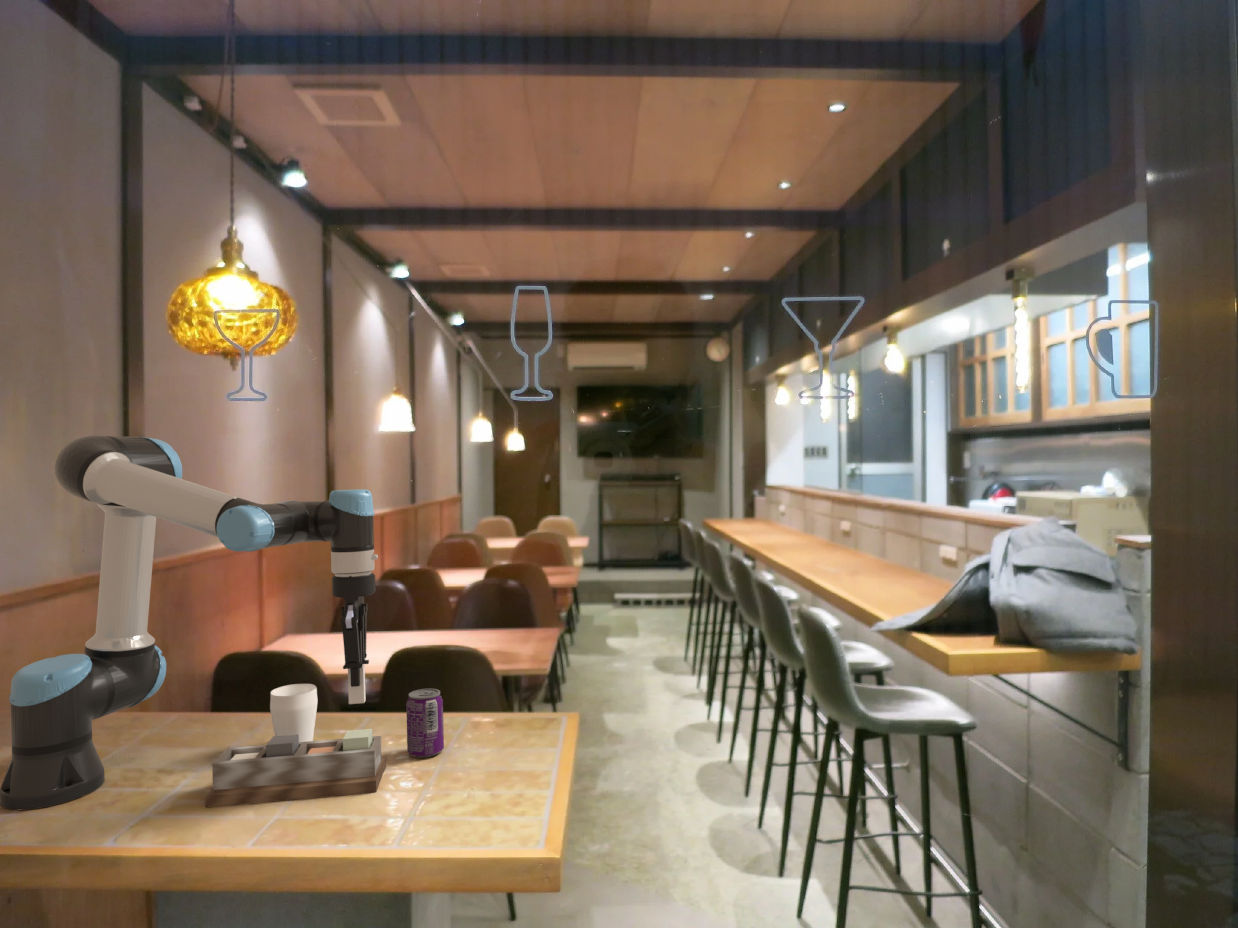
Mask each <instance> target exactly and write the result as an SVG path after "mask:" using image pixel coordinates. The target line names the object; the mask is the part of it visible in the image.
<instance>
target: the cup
mask: <svg viewBox="0 0 1238 928" xmlns="http://www.w3.org/2000/svg"><path fill="white" fill-rule="evenodd" d="M269 701H270V702H269V710H270V716H271V717H270V718H271V721H272V722H271V723H272V726H273V733H274V736H285V735H298V734H299V742H308V741H314V733H315V727H316V726H315V725H316V720H317V709H318V702H319V700H318V688H317V686H316V685H315V684H314V683H313V684H312V683H295V684H287V685H283V686H279V687H277V688H274V689H272V690H271V691H270V700H269Z"/></svg>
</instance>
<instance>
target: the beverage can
mask: <svg viewBox="0 0 1238 928" xmlns="http://www.w3.org/2000/svg"><path fill="white" fill-rule="evenodd" d="M405 709H406V746H407V748H406V749H407V750H406V752H407V753H408V754H409V755H410V756H413V757H415V758H420V759H422V758H430V757H433V756H436V755H438V754H439V753H440V752H442V751H443V750H444V747H445V738H444V737H445V736H444V700H443V697H442V695H441V690H439V689H437V688H421V689H416V690H413V691H411V692H409V693H408V699H407V701H406V708H405Z"/></svg>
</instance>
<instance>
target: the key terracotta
mask: <svg viewBox="0 0 1238 928" xmlns="http://www.w3.org/2000/svg"><path fill="white" fill-rule="evenodd" d="M334 748H335V746H334V747H321V748H311V749H310V751H309V752H308V754H314V753H327V752H332V751H333V749H334Z"/></svg>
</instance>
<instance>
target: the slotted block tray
mask: <svg viewBox="0 0 1238 928" xmlns="http://www.w3.org/2000/svg"><path fill="white" fill-rule="evenodd" d="M334 746H335V748H334V749H333V751H332V752H327V753H314V754H308V752H309V751H310V749H311V748H321V747H334ZM247 753H259V754H258V755H257V756H256V757H255V758H253V759H240V760H231V759H232V758H233V757H234V756H235V754H247ZM211 765H212V767H211V768H212V769H211V770H212V788H211V789H210V790H209V791H208V792H207V793H206V794H205V796H204V797H205V799H204V802H205V804H204V805H205V807H204V808H213V807H215V808H217V807H224V806H237V805H246V804H248V805H249V804H258V803H259V804H261V803H270V802H279V801H281V802H283V801H292V800H293V801H294V800H302V799H303V800H304V799H305V800H306V799H315V798H325V797H326V798H327V797H335V796H344V795H345V796H348V795H361V794H368V793H377V791H378V789H379V786H380V783H381V780H382V777H383V775H384V772H385V769H386V767H387V756H386V755H382V736H381V735H376V736H375V735H374V736H373V735H372V745H371V747H370V749H364V750H351V751H343V738H337V739H336V738H335V739H323V740H321V739H320V740H313V741H308V742H299V748H298V750H297V751H296V752H295V754H294V755H290V756H277V757H266V744H261V745H258V744H257V745H248V746H247V745H246V746H233V747H227V748H226V749H225V750H224V751H223V752H222V754H221V755H219V756H218V758H216V760H214V762H212V764H211Z"/></svg>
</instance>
